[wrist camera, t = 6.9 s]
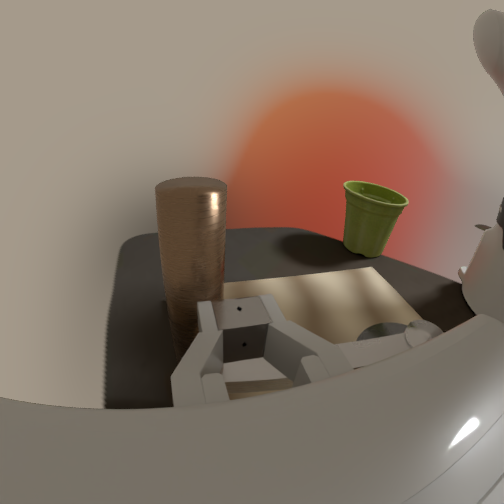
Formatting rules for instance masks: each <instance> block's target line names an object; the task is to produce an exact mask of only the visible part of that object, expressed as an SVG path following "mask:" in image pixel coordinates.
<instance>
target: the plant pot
mask: <svg viewBox="0 0 504 504" xmlns="http://www.w3.org/2000/svg"><path fill="white" fill-rule="evenodd" d="M344 189H345V190H346V191H345V192H346V193H345V197H346V200H347V202H346V203H347V204H346V218H345V229H344V238H343V243H344V246H345V247H346V248H347V249H348V250H350V251H351V252H353V253H356V254H357V253H360V254H363V255H364V256H365V257H377V256H380V255H381V254H382V252H383V250H384V247H385V245H386V243H387V241H388V239H389V236H390V234H391V232H392V230H393V227H394V225H395V223H396V221H397V219H398V216H399V215H400V214H401V213H402V211H403V209H404V207H405V206H407V205H408V199H407V198H405V197H404V196H403V195H401V194H400V193H398V192H396V191H394V190H391V189H389V188H386V187H383V186H380V185H377V184H373V183H367V182H361V181H348V182H345V183H344Z"/></svg>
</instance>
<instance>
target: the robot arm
mask: <svg viewBox="0 0 504 504" xmlns="http://www.w3.org/2000/svg"><path fill="white" fill-rule="evenodd" d="M473 40H474V46H475V50H476V53H477V56H478V58H479V60H480V62H481V64H482V66H483V67H484V69H485V70H486V72H487V73H488V74H489V75H490V76H491V78H492V79H493V80H494V81H495V83H496V84H497V86H498V87H499V88H500V90H501V92H502V94H503V96H504V13H503V12H500V11H496V10H492V9H489V10H487V11H485V12H483V13H482V14H481V15H480V16H479V17H478V19H477V20H476V23H475V26H474V30H473ZM458 275H459V277H460V279H461V280H462V292H463V295H464V298H465V300H466V301H467V303H468V305H469V306H470V307H471V309H472V310H473V311H474V312H475V314H476V316H474V317H473V318H471V319H469V320H467V321H466V322H464V323H462V324H460V325H458V326H456V327H454V328H453V329H451V330H449V331H447V332H445V333H443V334H441V335H439V336H437V337H434V338H432V339H430V340H428V341H426V342H424V343H422V344H419V345H417V346H415V347H412V348H410V349H408V350H405V351H403V352H401V353H398V354H396V355H393V356H391V357H388V358H386V359H383V360H380V361H378V362H375V363H372V364H370V365H367V366H364V367H361V368H358V369H355V370H354V369H353V367H352V366H351V364H350V363H349V361H348V360H347V358H346V357H345V355H344V354H343V352H342V350H341V349H340V347H338V346H336V345H334V344H332V343H330V342H328V341H327V340H325V339H323V338H321V337H319V336H317V335H316V334H314V333H312V332H310V331H308V330H306V329H305V328H303V327H301V326H299V325H297V324H296V323H294V322H292V321H290V320H289V321H286V319H285V317H284V315H283V313H282V312H281V310H280V308H279V306H278V304H277V302H276V300H275V299H274V297H273V295H272V294H265V295H258V296H252V297H244V298H234V299H222V300H211V301H199V302H197V315H198V327H199V333H198V334H197V336H196V338H195V339H194V341H193V342H192V344H191V345H190V347H189V349H188V350H187V352H186V353H185V355H184V356H183V358H182V360H181V361H180V363H179V364H178V366H177V367H176V369H175V370H174V372H173V374H172V375H171V386H172V395H173V404H174V407H167V408H149V409H90V408H88V409H87V408H73V407H61V406H51V405H43V404H36V403H28V402H22V401H17V400H12V399H6V398H2V397H0V504H504V198H503V201H502V204H501V205H500V208H499V213H498V216H497V224H496V225H495V226H494V227H493V228H490V229H488V230H485V232H484V234H483V236H482V238H481V241H480V243H479V245H478V247H477V249H476V252H475V253H474V256H473V258H472V260H471V262H470V264H469V266H468V267H467V266H462V267H460V269H459V271H458ZM262 357H263V358H264V359H265V360H266V361H267V362H268V363H270V364H271V365H272V366H273V367H275V368H276V369H277V370H278V371H280V372H281V373H282V374H283V375H285V376H286V377H287V378H288V379H290V380H291V381H292V382H293V386H292V388H290V389H285V390H281V391H276V392H272V393H267V394H262V395H257V396H252V397H247V398H241V399H235V400H230V399H229V396H228V392H227V389H226V385H225V381H224V378H223V375H221V374H220V371H221V369H222V367H223V364H224V363H230V362H236V361H241V360H248V359H255V358H262Z"/></svg>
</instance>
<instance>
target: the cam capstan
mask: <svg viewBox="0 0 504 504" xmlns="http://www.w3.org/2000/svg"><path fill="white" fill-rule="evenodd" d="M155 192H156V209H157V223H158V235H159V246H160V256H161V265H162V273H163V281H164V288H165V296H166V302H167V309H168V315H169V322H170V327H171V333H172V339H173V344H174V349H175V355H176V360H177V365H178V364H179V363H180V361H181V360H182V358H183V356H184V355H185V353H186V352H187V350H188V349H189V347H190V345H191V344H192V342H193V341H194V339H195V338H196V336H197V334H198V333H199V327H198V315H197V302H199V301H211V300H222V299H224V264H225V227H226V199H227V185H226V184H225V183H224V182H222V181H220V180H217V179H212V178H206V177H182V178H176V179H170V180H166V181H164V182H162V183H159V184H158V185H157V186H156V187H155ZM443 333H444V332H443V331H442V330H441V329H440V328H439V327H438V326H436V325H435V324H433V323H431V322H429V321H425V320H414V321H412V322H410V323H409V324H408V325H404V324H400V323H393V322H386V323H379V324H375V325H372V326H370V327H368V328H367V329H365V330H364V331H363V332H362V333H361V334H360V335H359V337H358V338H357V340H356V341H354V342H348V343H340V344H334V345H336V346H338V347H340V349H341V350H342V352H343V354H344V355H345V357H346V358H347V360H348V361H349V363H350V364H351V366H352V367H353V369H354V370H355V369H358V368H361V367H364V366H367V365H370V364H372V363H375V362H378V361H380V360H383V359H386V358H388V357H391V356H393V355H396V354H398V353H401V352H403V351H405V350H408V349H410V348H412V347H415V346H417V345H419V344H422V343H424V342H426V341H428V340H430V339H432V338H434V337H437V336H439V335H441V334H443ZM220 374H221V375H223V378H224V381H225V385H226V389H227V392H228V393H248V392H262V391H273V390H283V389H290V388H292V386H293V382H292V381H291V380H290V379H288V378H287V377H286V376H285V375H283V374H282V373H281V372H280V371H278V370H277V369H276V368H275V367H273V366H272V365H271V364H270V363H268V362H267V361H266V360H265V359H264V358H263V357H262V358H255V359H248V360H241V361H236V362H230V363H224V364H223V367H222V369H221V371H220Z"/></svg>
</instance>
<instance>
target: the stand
mask: <svg viewBox="0 0 504 504" xmlns="http://www.w3.org/2000/svg"><path fill="white" fill-rule="evenodd" d="M265 294H272V295H273V297H274V299H275V300H276V302H277V304H278V306H279V308H280V310H281V312H282V313H283V315H284V317H285V319H286V321H289V320H290V321H292V322H294V323H296V324H297V325H299V326H301V327H303V328H305V329H306V330H308V331H310V332H312V333H314V334H316V335H317V336H319V337H321V338H323V339H325V340H327V341H328V342H330V343H332V344H340V343H348V342H354V341H356V340H357V338H358V337H359V335H360V334H361V333H362V332H363V331H364V330H365V329H367V328H368V327H370V326H372V325H375V324H379V323H386V322H393V323H400V324H404V325H408V324H409V323H410V322H412V321H414V320H423V319H422V318H421V317H420V316H419V315H418V314H417V312H416V311H415V310H414V309H413V308H412V307H411V306H410V305H409V304H408V303H407V302H406V301H405V300H404V299H403V298H402V297H401V296H400V295H399V294H398V293H397V292H396V290H395V289H394V288H393V287H392V286H391V285H390V284H389V283H388V282H387V281H386V280H385V279H384V278H383V277H382V276H381V275H380V274H379V273H378V272H377V271H376V270H374V269H373V268H372V267H368V268H360V269H352V270H344V271H336V272H327V273H319V274H310V275H300V276H291V277H282V278H272V279H262V280H251V281H241V282H229V283H224V299H234V298H244V297H252V296H258V295H265ZM283 390H285V389H283ZM276 391H281V390H273V391H262V392H248V393H228V396H229V399H230V400H235V399H241V398H247V397H252V396H257V395H262V394H267V393H272V392H276Z"/></svg>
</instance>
